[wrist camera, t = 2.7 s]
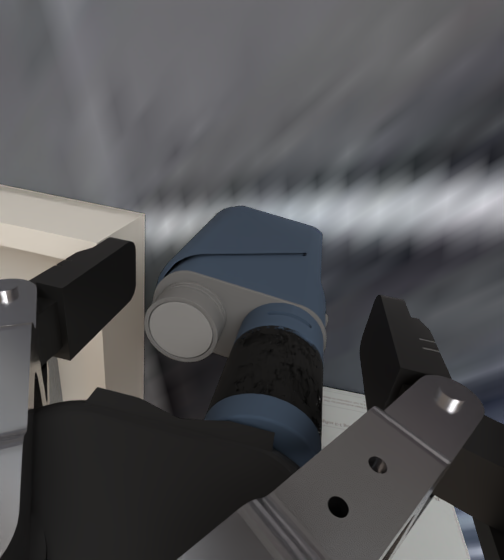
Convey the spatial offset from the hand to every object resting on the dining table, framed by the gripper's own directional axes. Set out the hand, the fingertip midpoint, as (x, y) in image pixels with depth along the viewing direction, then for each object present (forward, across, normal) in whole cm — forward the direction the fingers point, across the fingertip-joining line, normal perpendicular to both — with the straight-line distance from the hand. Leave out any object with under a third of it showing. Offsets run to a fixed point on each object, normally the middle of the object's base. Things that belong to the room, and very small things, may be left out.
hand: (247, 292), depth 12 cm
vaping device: (+5, 0, 0) cm, 5 cm away
